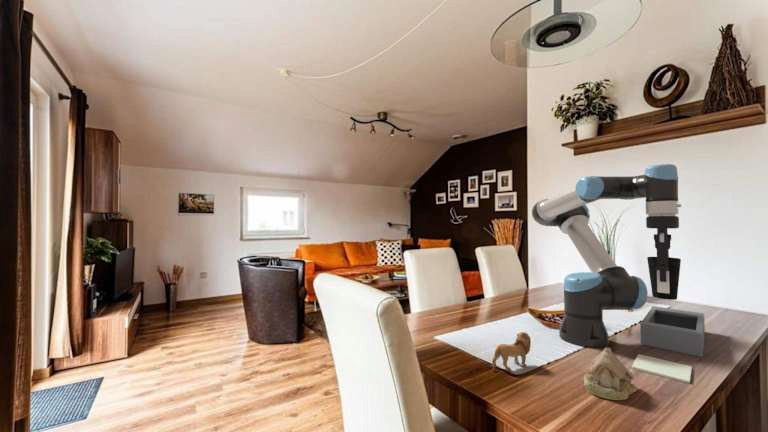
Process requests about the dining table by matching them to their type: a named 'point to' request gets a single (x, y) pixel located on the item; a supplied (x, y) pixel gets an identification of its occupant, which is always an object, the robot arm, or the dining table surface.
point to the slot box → (674, 330)
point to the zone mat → (663, 368)
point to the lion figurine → (513, 350)
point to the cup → (673, 277)
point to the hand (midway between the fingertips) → (663, 290)
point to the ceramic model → (609, 377)
